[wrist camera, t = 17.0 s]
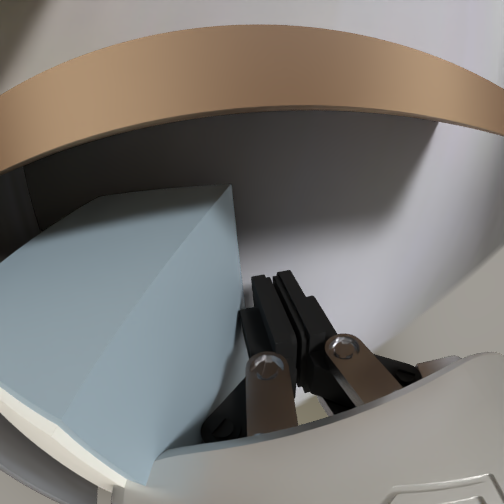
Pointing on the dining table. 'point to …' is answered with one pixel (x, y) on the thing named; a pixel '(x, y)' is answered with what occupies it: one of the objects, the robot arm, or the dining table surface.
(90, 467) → the boxed book
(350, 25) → the dining table surface
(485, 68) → the dining table surface
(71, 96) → the shelf
